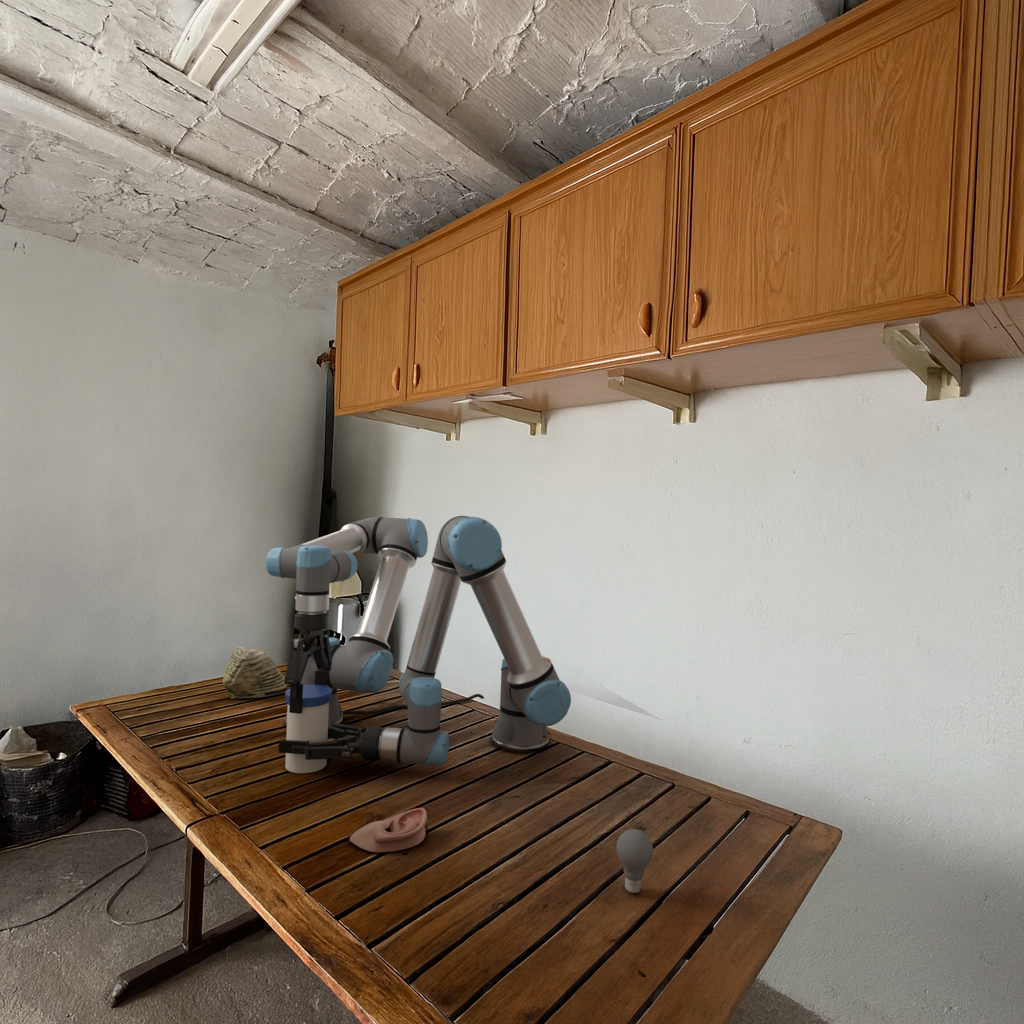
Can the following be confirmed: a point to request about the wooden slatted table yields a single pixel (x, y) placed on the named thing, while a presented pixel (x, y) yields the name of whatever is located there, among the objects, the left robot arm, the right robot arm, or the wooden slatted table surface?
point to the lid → (313, 695)
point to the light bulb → (634, 857)
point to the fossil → (252, 674)
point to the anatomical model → (392, 832)
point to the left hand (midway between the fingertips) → (308, 705)
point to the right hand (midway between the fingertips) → (288, 737)
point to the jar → (307, 736)
